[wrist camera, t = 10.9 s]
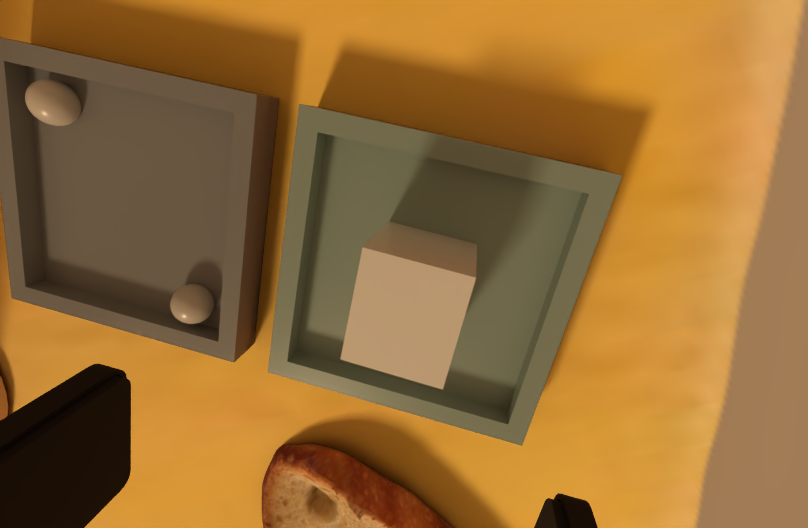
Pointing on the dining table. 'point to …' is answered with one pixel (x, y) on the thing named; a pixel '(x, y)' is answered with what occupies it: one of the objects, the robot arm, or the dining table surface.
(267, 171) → the bin
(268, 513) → the bread slice
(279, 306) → the bin
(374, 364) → the beige block
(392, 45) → the dining table surface
